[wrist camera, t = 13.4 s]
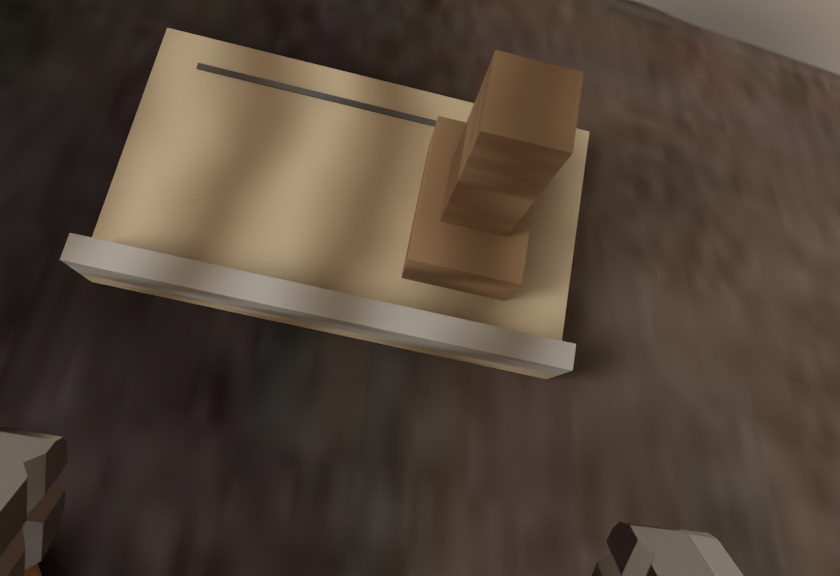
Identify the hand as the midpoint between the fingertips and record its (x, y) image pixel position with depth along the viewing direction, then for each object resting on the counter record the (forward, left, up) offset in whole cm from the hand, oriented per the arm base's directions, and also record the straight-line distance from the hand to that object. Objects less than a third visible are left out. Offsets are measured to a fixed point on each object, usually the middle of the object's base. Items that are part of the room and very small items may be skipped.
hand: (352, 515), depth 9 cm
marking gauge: (+3, +13, -18) cm, 23 cm away
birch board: (-2, +13, -20) cm, 24 cm away
